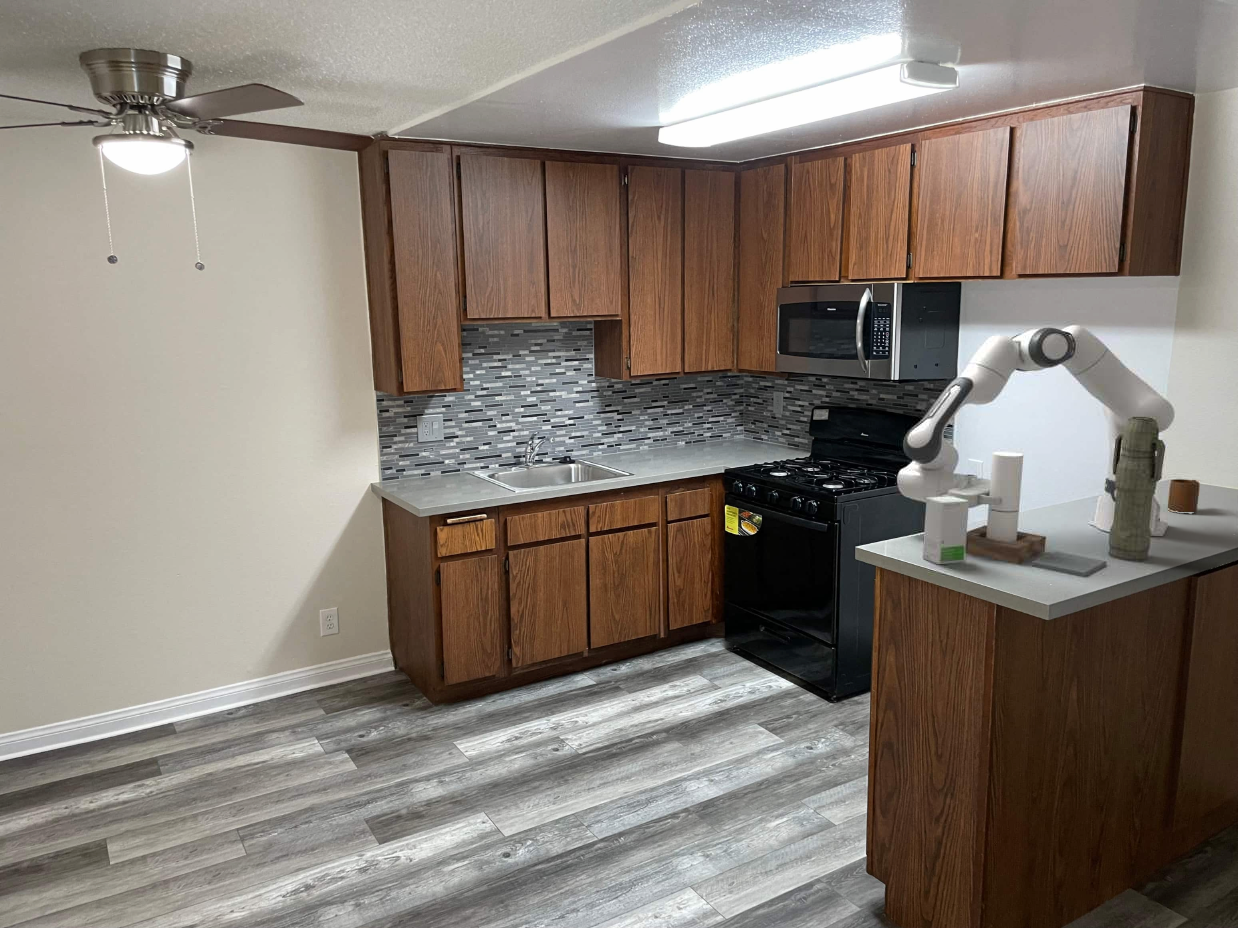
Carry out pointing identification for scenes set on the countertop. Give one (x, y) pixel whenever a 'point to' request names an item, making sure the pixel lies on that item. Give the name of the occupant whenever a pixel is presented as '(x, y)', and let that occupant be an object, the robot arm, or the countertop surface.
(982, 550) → the pocket block
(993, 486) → the cylindrical container
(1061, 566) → the rubber mat
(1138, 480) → the thermos
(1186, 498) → the mug
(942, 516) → the skincare box
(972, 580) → the countertop surface
